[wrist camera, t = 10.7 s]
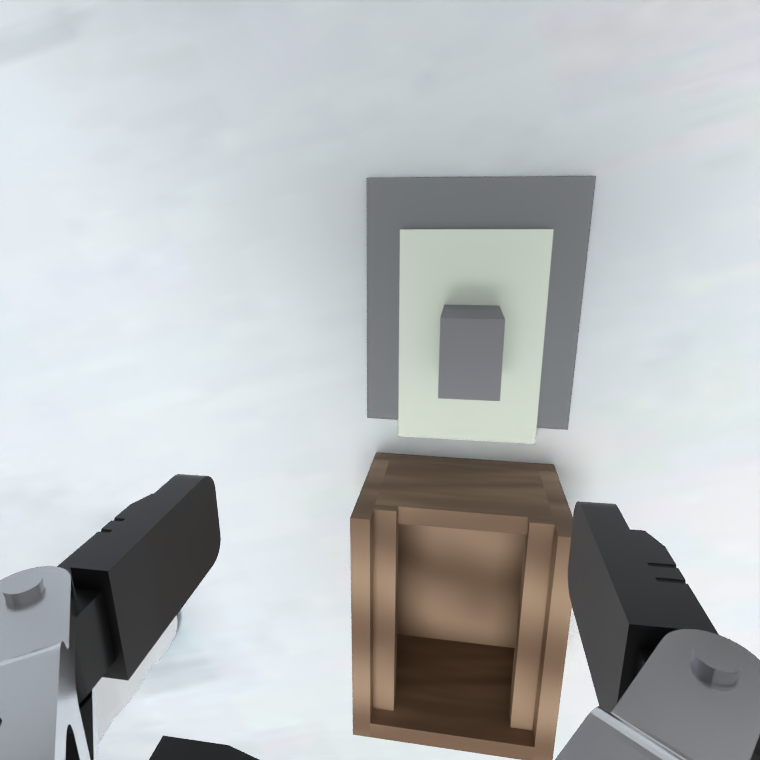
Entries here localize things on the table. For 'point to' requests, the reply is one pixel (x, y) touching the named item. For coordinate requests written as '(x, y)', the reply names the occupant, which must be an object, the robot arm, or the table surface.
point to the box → (460, 604)
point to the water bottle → (127, 683)
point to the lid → (472, 332)
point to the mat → (478, 211)
